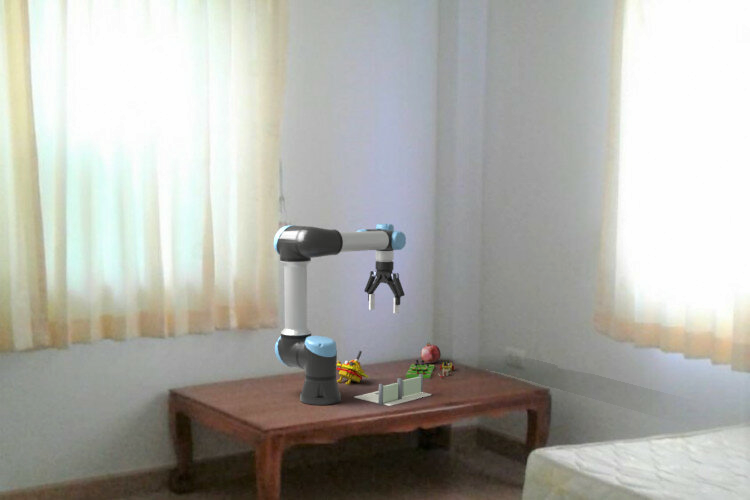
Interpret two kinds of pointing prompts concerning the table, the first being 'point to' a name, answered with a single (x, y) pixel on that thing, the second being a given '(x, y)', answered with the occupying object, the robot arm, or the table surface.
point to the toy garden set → (428, 369)
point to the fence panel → (412, 386)
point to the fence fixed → (390, 391)
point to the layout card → (375, 398)
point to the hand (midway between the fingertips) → (383, 311)
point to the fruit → (430, 353)
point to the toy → (351, 370)
